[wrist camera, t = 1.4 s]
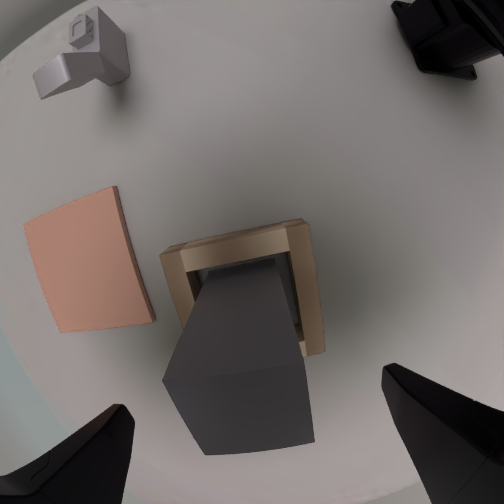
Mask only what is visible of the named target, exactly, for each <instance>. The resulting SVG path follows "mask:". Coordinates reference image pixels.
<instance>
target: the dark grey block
mask: <svg viewBox="0 0 504 504" xmlns="http://www.w3.org/2000/svg"><path fill="white" fill-rule="evenodd" d="M162 381H163V383H164V385H165V387H166V389H167V391H168V393H169V395H170V397H171V399H172V401H173V402H174V404H175V406H176V408H177V410H178V411H179V413H180V415H181V417H182V419H183V420H184V422H185V424H186V425H187V427H188V429H189V430H190V432H191V434H192V435H193V437H194V439H195V440H196V442H197V443H198V445H199V447H200V448H201V450H202V451H203V453H204V454H205V455H225V454H239V453H250V452H259V451H267V450H274V449H281V448H287V447H293V446H298V445H303V444H308V443H313V442H315V439H314V431H313V423H312V415H311V407H310V400H309V392H308V385H307V378H306V371H305V364H304V359H303V356H302V352H301V348H300V345H299V341H298V338H297V334H296V331H295V327H294V324H293V320H292V317H291V313H290V310H289V306H288V303H287V299H286V296H285V292H284V289H283V286H282V282H281V279H280V275H279V272H278V269H277V265H276V262H275V259H274V258H272V259H267V260H263V261H258V262H253V263H248V264H243V265H238V266H233V267H228V268H223V269H219V270H214V271H209V273H208V275H207V277H206V279H205V282H204V284H203V286H202V288H201V290H200V293H199V295H198V297H197V300H196V302H195V304H194V306H193V309H192V311H191V313H190V316H189V318H188V320H187V323H186V325H185V327H184V330H183V332H182V334H181V337H180V339H179V341H178V344H177V346H176V348H175V351H174V353H173V356H172V358H171V360H170V363H169V365H168V368H167V370H166V373H165V375H164V377H163V380H162Z"/></svg>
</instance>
